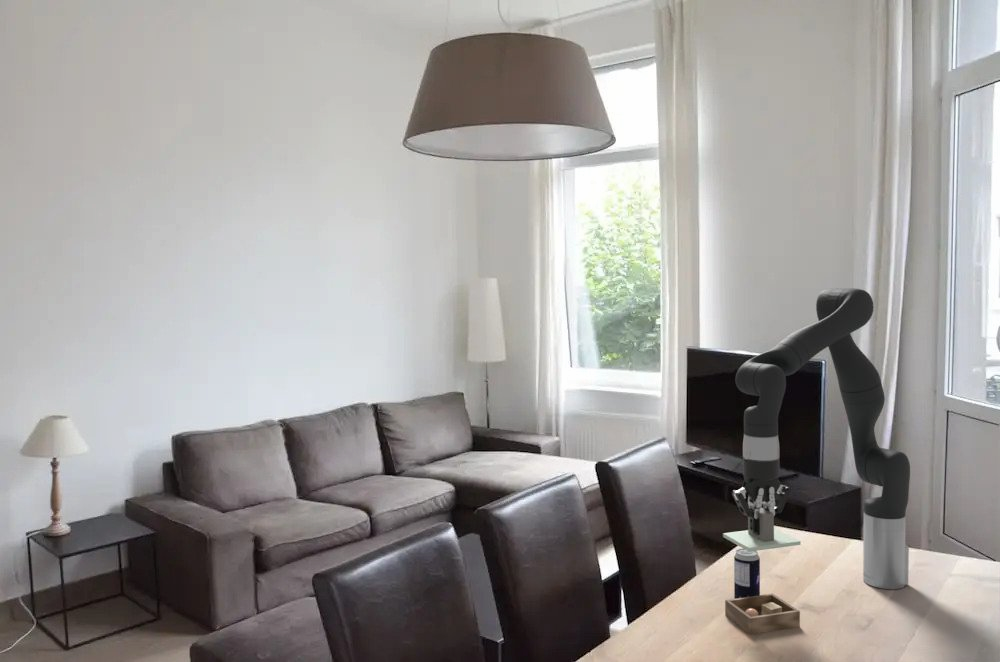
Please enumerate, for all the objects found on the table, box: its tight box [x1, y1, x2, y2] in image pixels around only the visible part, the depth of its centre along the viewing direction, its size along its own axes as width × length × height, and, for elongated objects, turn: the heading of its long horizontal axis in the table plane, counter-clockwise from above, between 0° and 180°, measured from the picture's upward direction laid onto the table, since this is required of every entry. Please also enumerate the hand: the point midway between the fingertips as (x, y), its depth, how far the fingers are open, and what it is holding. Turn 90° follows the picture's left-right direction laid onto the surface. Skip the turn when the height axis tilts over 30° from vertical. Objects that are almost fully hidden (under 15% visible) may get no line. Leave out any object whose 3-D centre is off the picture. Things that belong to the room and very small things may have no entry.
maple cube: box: [762, 602, 782, 615], centre depth 173 cm, size 3×3×3 cm
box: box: [724, 593, 801, 635], centre depth 172 cm, size 12×10×4 cm
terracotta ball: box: [745, 608, 759, 617], centre depth 171 cm, size 3×3×3 cm
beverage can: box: [733, 548, 761, 599], centre depth 183 cm, size 6×6×12 cm
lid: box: [722, 507, 801, 552], centre depth 171 cm, size 12×10×7 cm
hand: (761, 533), depth 171 cm, fingers closed on lid, 2 cm apart
